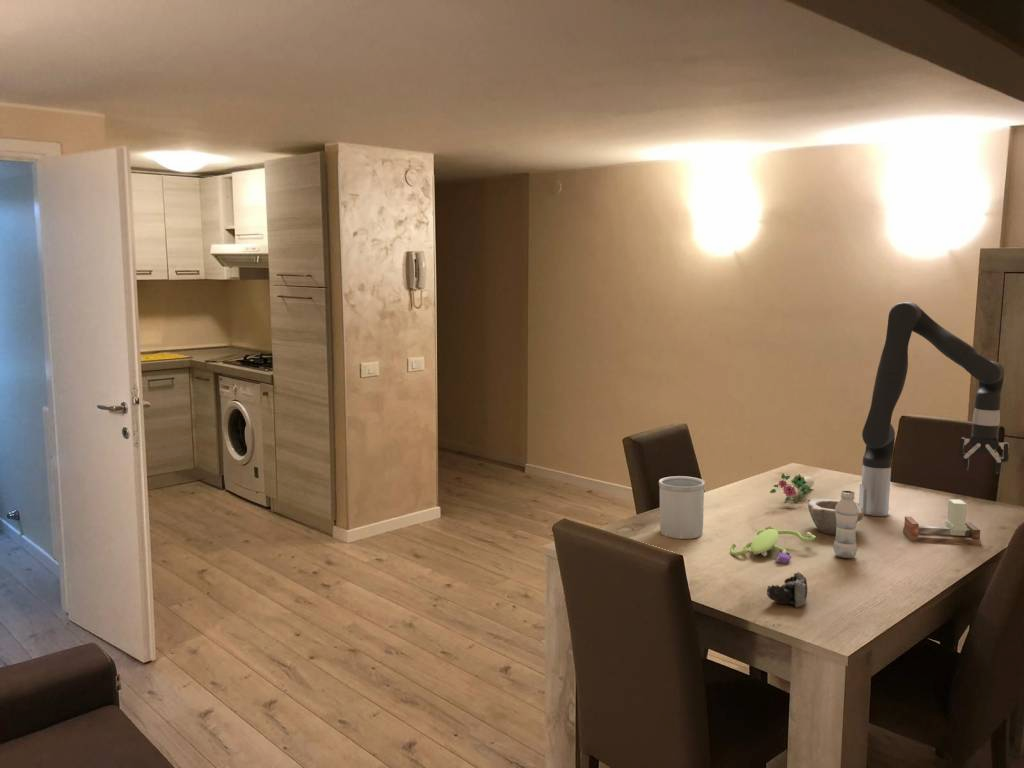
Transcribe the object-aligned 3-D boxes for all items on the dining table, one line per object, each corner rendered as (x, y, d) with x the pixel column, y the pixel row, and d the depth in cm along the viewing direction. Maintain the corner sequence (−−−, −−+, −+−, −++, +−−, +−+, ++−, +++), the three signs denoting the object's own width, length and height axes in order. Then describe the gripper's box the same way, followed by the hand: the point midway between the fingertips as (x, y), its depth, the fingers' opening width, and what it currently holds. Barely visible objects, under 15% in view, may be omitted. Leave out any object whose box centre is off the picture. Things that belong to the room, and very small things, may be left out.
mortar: (859, 526, 271) (860, 499, 270) (863, 541, 256) (865, 513, 254) (806, 521, 277) (807, 495, 276) (807, 536, 261) (808, 508, 260)
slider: (952, 535, 254) (954, 504, 253) (944, 529, 261) (947, 498, 260) (966, 536, 254) (968, 504, 252) (958, 529, 260) (960, 498, 259)
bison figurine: (805, 594, 214) (765, 588, 216) (808, 569, 212) (768, 563, 215) (807, 613, 202) (765, 606, 205) (810, 586, 201) (768, 580, 204)
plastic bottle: (846, 562, 237) (849, 496, 234) (827, 555, 243) (831, 490, 240) (861, 558, 240) (865, 493, 237) (842, 551, 246) (846, 488, 243)
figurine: (821, 548, 250) (822, 531, 250) (781, 570, 232) (781, 551, 231) (766, 535, 263) (767, 518, 263) (723, 554, 245) (724, 537, 244)
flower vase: (813, 508, 319) (797, 511, 288) (784, 495, 325) (765, 496, 294) (825, 481, 318) (810, 480, 287) (795, 468, 324) (778, 466, 293)
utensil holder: (649, 533, 265) (650, 481, 262) (673, 523, 275) (674, 473, 273) (688, 543, 255) (689, 489, 252) (712, 532, 265) (713, 480, 263)
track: (911, 541, 255) (912, 524, 255) (902, 531, 265) (903, 515, 264) (980, 545, 252) (981, 528, 251) (968, 535, 261) (970, 518, 261)
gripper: (959, 421, 263) (955, 470, 265) (1010, 427, 254) (1005, 477, 256) (962, 418, 269) (959, 466, 271) (1012, 423, 260) (1008, 472, 262)
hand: (981, 471), depth 264 cm, fingers open, 8 cm apart
